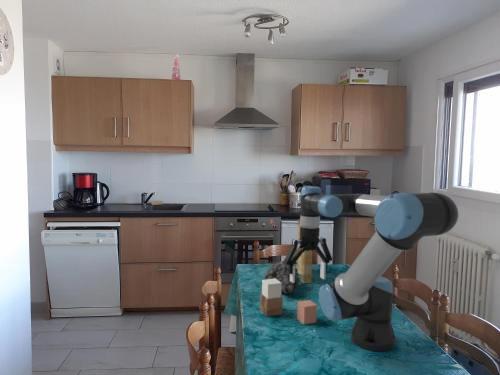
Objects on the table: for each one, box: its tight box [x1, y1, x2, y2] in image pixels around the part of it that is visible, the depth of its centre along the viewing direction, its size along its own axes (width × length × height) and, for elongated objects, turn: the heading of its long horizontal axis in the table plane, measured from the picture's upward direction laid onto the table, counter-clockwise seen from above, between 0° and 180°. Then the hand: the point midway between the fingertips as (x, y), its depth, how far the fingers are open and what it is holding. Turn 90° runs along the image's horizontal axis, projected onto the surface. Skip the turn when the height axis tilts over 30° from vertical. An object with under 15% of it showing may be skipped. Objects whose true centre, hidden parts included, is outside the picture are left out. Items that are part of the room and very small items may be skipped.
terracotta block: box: [296, 299, 318, 325], centre depth 148 cm, size 6×6×7 cm
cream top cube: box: [261, 278, 282, 299], centre depth 155 cm, size 6×6×6 cm
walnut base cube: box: [259, 292, 284, 317], centre depth 156 cm, size 7×7×7 cm
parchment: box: [296, 218, 313, 284], centre depth 202 cm, size 23×6×30 cm, turn 177°
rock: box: [264, 260, 301, 295], centre depth 182 cm, size 22×16×15 cm
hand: (307, 280), depth 147 cm, fingers open, 13 cm apart
